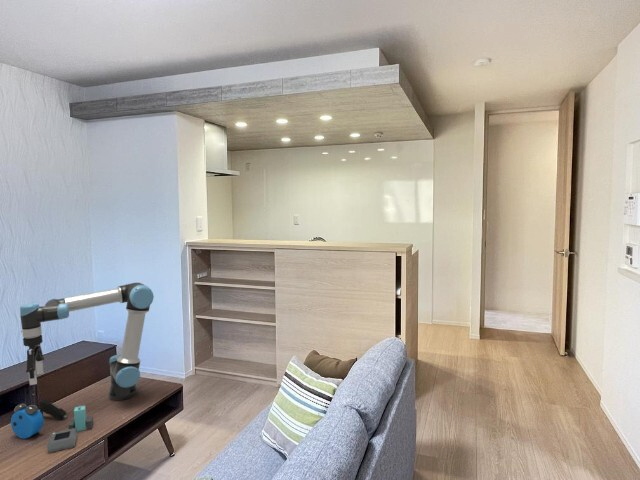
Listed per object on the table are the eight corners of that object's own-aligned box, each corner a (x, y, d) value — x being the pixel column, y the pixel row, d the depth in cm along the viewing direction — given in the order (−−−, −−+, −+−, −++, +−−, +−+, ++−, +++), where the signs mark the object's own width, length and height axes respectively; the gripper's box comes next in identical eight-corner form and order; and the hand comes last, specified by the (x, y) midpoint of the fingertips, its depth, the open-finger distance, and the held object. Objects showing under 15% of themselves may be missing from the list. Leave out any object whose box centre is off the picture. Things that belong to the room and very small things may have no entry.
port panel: (77, 436, 194) (76, 427, 194) (74, 447, 185) (73, 438, 185) (51, 441, 190) (51, 432, 190) (47, 453, 181) (47, 443, 181)
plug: (86, 425, 204) (85, 403, 203) (85, 429, 200) (84, 407, 199) (76, 427, 202) (74, 405, 201) (75, 431, 198) (73, 409, 197)
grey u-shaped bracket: (93, 422, 207) (92, 414, 206) (91, 428, 200) (91, 420, 200) (71, 426, 203) (70, 418, 202) (69, 433, 196) (68, 425, 196)
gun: (59, 431, 210) (65, 414, 208) (33, 414, 212) (40, 398, 210) (63, 428, 212) (70, 412, 211) (38, 412, 215) (44, 396, 213)
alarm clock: (45, 433, 197) (42, 403, 196) (33, 441, 191) (30, 409, 190) (23, 430, 200) (20, 400, 199) (11, 437, 194) (8, 406, 193)
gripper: (29, 330, 209) (34, 371, 211) (15, 345, 186) (20, 390, 188) (47, 327, 212) (51, 368, 214) (35, 342, 189) (40, 387, 191)
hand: (36, 379), depth 201 cm, fingers open, 13 cm apart
